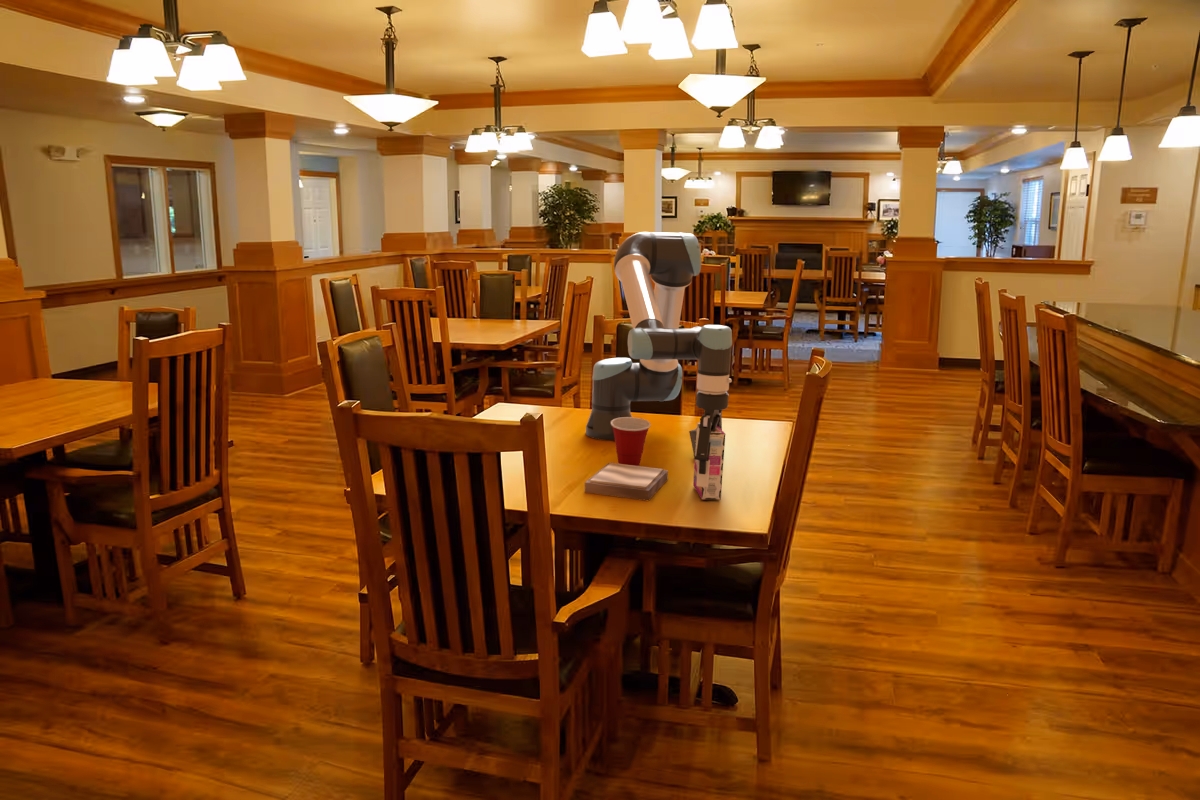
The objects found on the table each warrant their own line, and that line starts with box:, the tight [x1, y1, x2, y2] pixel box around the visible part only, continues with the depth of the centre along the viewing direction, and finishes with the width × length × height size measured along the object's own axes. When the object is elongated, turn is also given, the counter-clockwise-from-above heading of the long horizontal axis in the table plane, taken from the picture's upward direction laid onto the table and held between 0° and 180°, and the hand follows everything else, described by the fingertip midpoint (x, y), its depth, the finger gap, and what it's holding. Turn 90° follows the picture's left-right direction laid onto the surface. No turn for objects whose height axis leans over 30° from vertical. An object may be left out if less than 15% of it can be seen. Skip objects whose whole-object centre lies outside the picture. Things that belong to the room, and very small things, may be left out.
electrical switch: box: [688, 427, 697, 457], centre depth 240 cm, size 9×5×9 cm, turn 141°
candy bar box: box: [692, 422, 726, 501], centre depth 205 cm, size 11×5×16 cm, turn 5°
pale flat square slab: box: [584, 462, 669, 501], centre depth 211 cm, size 18×16×3 cm
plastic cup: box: [611, 416, 651, 466], centre depth 229 cm, size 11×11×12 cm
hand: (707, 478), depth 206 cm, fingers closed on candy bar box, 12 cm apart
